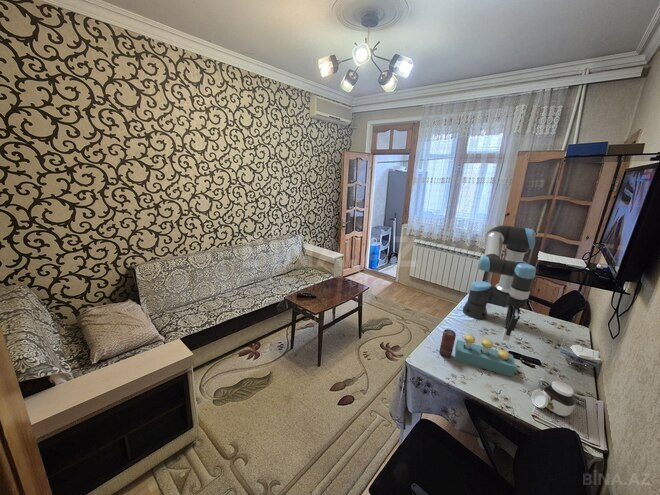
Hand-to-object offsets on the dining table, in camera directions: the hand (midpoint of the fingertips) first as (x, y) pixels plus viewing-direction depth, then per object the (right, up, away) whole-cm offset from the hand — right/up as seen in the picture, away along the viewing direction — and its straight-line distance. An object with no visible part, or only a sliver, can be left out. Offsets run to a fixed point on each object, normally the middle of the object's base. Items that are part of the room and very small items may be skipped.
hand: (505, 339), depth 131 cm
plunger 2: (0, -15, +4) cm, 15 cm away
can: (-25, -12, +12) cm, 30 cm away
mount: (-7, -14, +8) cm, 18 cm away
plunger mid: (-7, -10, +6) cm, 13 cm away
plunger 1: (-14, -8, +9) cm, 19 cm away
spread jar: (+7, -23, -18) cm, 30 cm away
